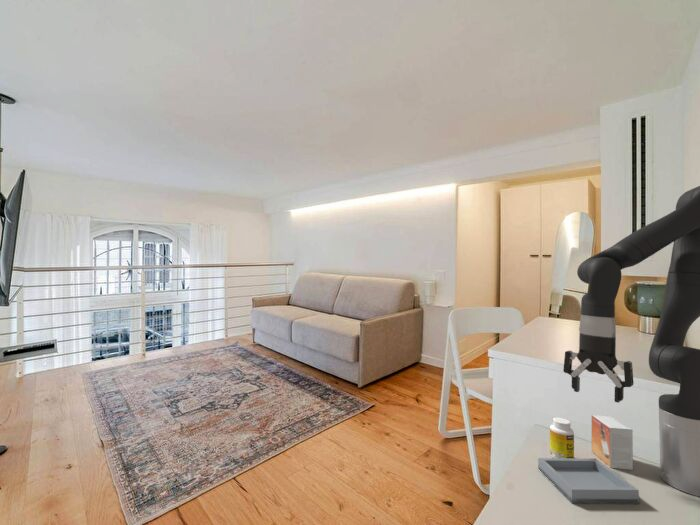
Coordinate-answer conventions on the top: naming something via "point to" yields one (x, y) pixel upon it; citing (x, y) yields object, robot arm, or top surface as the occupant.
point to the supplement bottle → (561, 439)
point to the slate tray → (588, 481)
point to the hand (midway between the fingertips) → (596, 396)
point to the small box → (612, 442)
